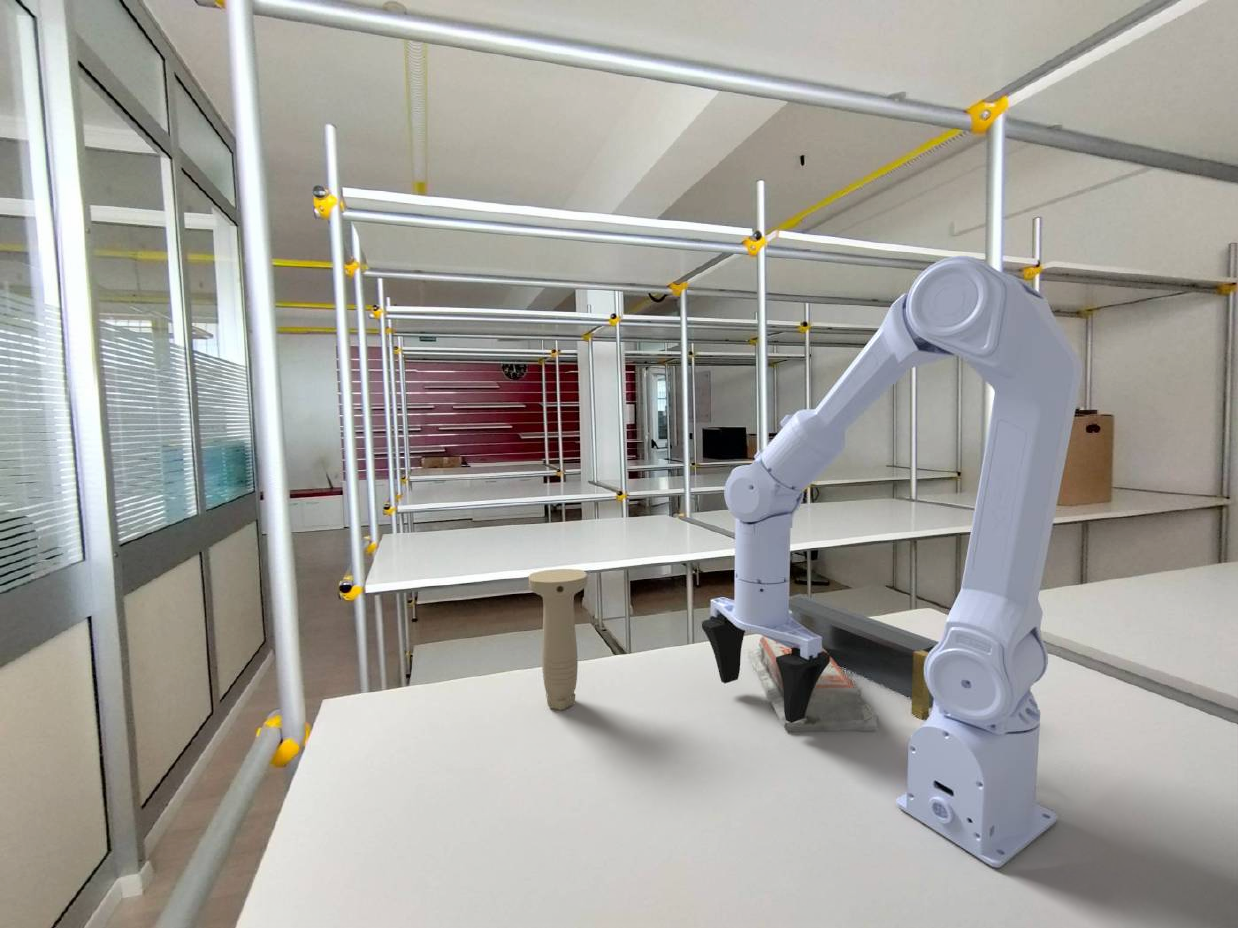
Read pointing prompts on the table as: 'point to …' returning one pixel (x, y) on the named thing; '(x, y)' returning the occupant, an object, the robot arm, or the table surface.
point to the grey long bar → (870, 648)
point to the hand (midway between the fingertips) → (759, 698)
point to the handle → (559, 632)
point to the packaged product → (814, 694)
